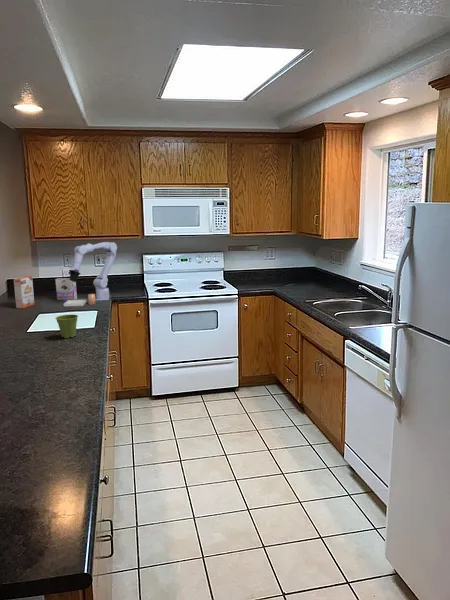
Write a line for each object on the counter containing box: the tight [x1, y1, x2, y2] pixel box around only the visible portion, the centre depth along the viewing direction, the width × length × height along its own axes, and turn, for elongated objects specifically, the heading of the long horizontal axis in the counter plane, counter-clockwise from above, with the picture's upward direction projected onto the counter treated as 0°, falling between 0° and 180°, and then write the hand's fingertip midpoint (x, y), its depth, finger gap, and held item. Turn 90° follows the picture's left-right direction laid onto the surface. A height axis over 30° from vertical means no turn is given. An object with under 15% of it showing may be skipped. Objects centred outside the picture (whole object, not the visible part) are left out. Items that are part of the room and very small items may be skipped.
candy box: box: [54, 277, 78, 302], centre depth 367 cm, size 14×6×16 cm, turn 84°
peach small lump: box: [87, 293, 97, 306], centre depth 352 cm, size 5×5×7 cm
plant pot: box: [54, 314, 79, 339], centre depth 266 cm, size 12×12×11 cm
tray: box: [63, 299, 87, 307], centre depth 352 cm, size 13×13×2 cm
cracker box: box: [13, 275, 35, 310], centre depth 346 cm, size 14×6×21 cm, turn 168°
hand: (72, 281), depth 348 cm, fingers open, 7 cm apart
